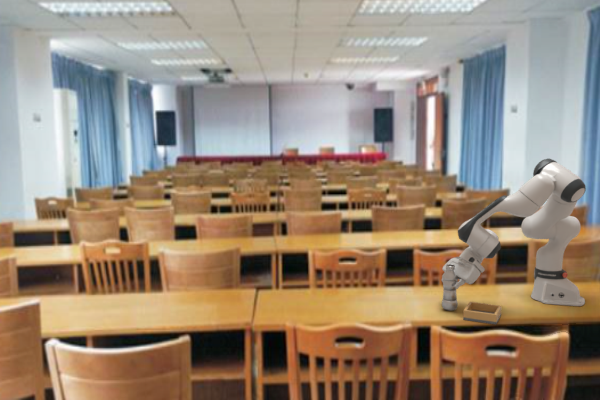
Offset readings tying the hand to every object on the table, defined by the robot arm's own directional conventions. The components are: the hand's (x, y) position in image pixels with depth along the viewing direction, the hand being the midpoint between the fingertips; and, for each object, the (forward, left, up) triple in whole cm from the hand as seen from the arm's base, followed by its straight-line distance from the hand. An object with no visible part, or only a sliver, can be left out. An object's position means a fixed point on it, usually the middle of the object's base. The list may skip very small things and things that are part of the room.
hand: (448, 284), depth 239 cm
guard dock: (-15, +3, -11) cm, 19 cm away
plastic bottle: (0, 0, -12) cm, 12 cm away
